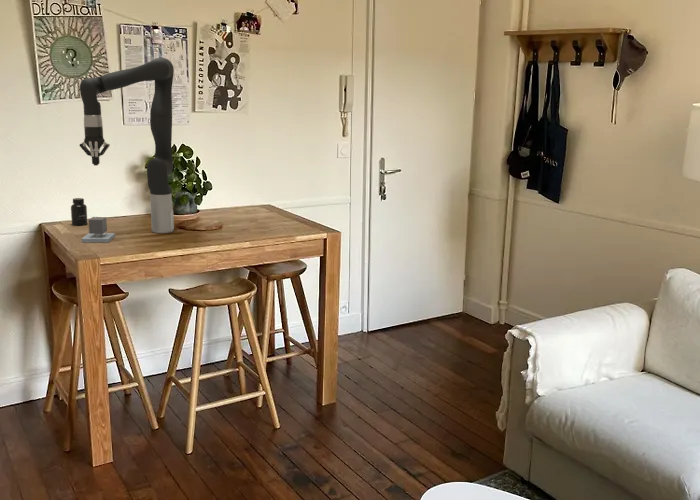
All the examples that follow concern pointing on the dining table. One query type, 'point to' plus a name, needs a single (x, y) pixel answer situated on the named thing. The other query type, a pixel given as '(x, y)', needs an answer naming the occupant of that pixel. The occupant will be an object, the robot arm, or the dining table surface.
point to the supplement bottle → (79, 212)
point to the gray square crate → (97, 225)
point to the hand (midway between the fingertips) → (95, 165)
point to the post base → (98, 238)
